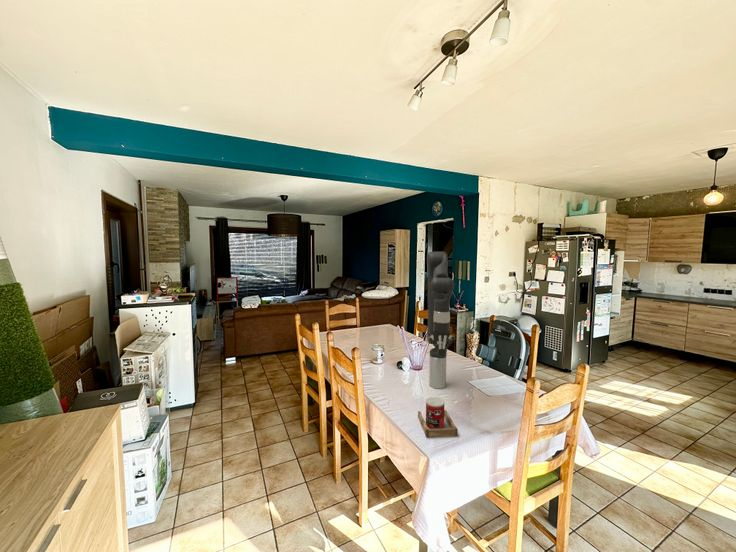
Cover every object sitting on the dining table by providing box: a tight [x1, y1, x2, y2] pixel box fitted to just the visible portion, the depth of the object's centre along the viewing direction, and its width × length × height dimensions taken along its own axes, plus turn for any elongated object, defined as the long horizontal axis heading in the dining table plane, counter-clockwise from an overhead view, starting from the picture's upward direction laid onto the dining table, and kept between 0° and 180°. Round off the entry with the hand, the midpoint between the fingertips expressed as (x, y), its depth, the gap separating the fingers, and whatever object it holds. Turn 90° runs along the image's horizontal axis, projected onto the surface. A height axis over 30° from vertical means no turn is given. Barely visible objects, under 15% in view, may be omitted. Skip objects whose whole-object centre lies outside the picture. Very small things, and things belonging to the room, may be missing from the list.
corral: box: [417, 409, 459, 439], centre depth 133 cm, size 15×13×3 cm
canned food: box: [425, 396, 445, 429], centre depth 134 cm, size 8×8×11 cm
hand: (440, 356), depth 145 cm, fingers closed
